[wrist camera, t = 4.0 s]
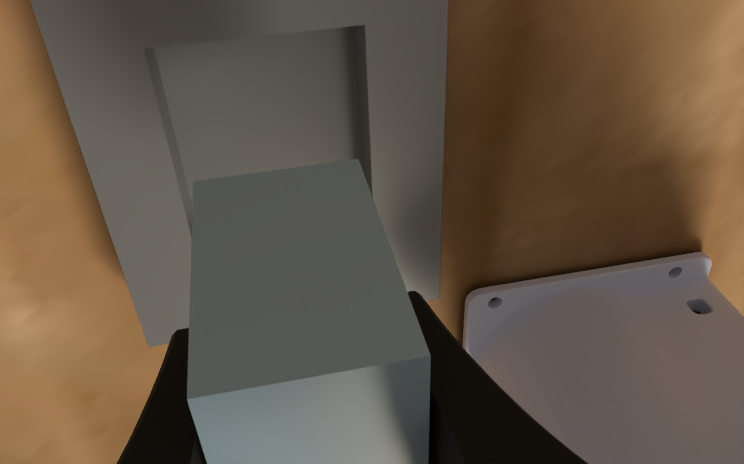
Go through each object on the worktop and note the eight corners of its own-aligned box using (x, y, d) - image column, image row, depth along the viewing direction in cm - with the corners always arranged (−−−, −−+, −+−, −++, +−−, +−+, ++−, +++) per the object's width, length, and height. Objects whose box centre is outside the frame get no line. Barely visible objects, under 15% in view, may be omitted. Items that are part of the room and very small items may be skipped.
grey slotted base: (426, -93, 16) (450, -76, 14) (423, 259, 23) (439, 298, 21) (37, -61, 15) (16, -38, 13) (152, 302, 21) (148, 346, 20)
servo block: (358, 158, 12) (430, 355, 8) (369, 347, 15) (426, 558, 11) (193, 181, 12) (186, 399, 8) (237, 370, 15) (249, 597, 11)
